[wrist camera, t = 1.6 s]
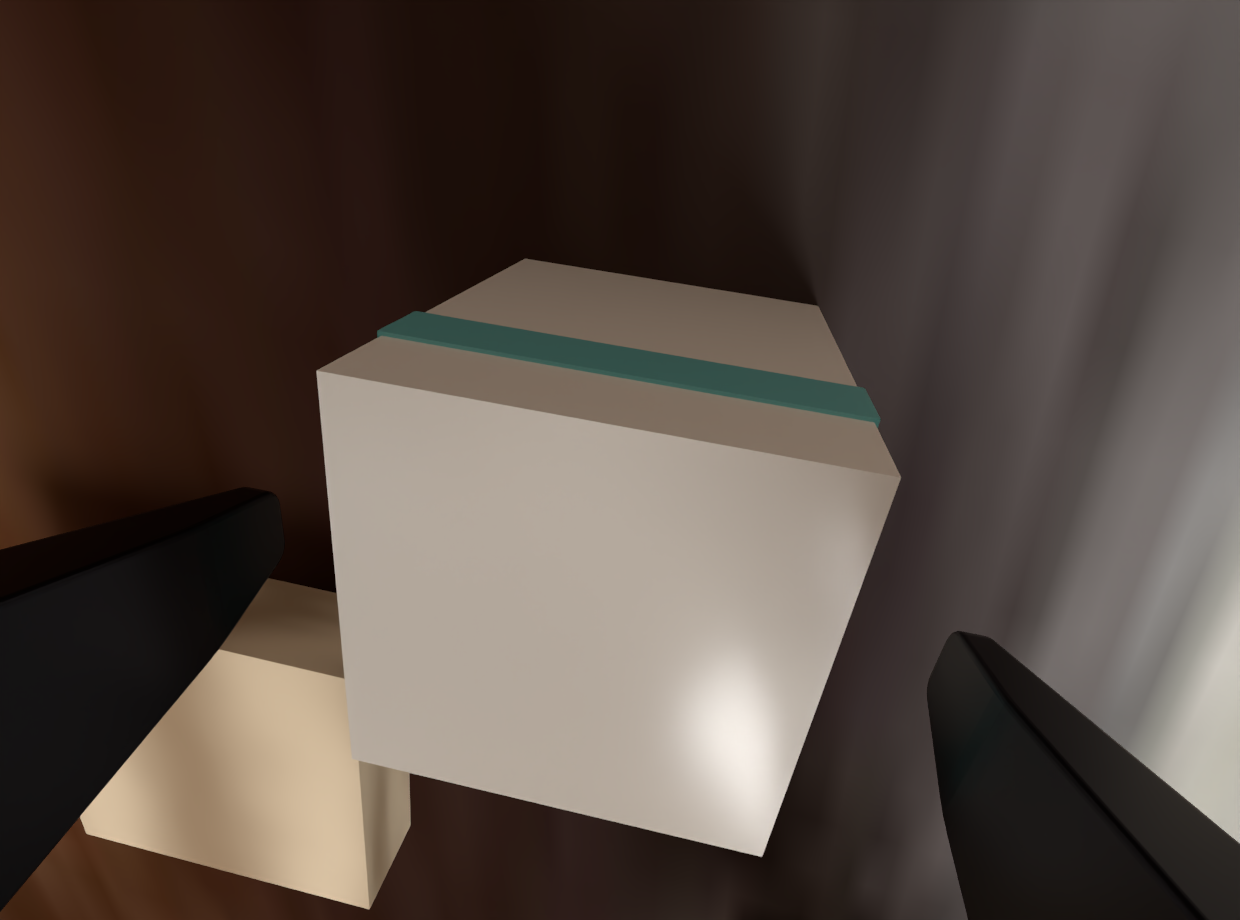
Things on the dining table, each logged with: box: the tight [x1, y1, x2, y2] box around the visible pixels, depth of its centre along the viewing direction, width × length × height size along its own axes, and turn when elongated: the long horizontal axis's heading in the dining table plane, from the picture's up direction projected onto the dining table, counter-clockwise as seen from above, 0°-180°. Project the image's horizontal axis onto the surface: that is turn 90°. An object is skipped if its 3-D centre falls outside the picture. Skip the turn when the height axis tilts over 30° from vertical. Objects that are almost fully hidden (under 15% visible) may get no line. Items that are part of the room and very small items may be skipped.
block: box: [80, 578, 411, 909], centre depth 18 cm, size 9×9×3 cm
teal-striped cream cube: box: [317, 259, 901, 857], centre depth 10 cm, size 6×6×7 cm
